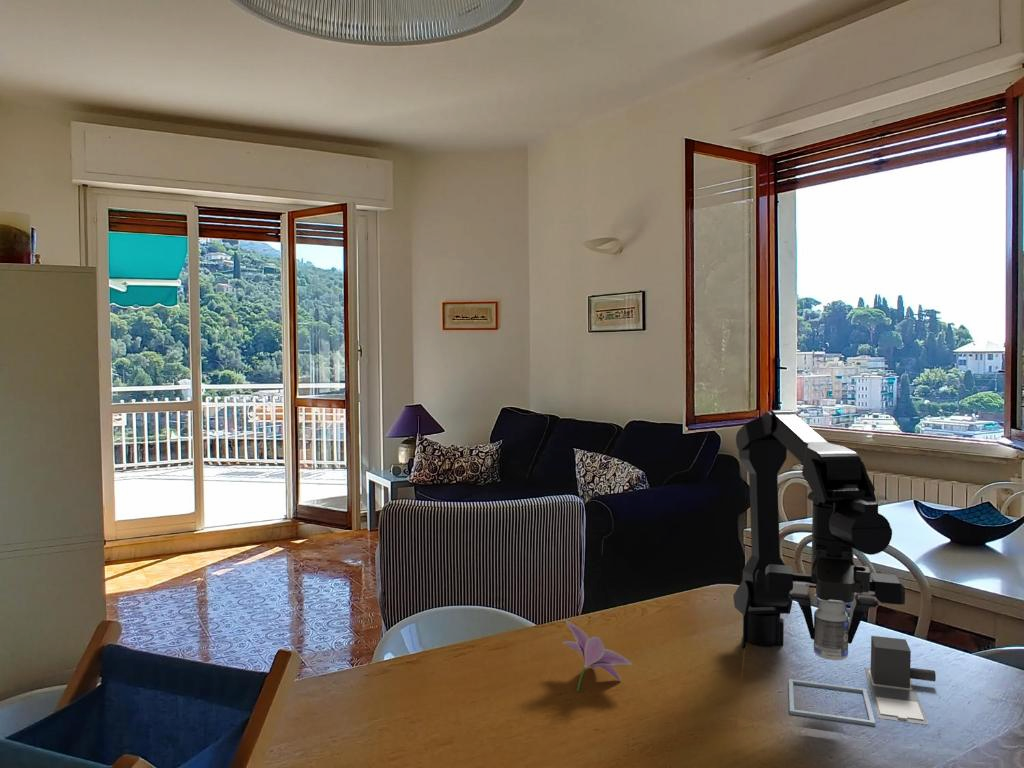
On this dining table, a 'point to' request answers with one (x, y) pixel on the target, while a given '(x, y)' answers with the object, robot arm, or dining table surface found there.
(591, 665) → the lily
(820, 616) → the pill bottle
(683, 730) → the dining table surface
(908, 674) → the grey block with peg
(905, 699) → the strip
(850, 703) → the dining table surface
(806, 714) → the grey square frame
